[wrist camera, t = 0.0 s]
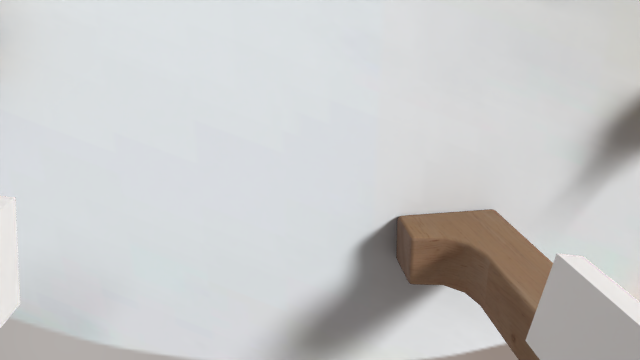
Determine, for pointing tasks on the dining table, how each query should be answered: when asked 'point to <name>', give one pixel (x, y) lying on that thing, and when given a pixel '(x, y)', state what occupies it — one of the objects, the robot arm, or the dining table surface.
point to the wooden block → (478, 266)
